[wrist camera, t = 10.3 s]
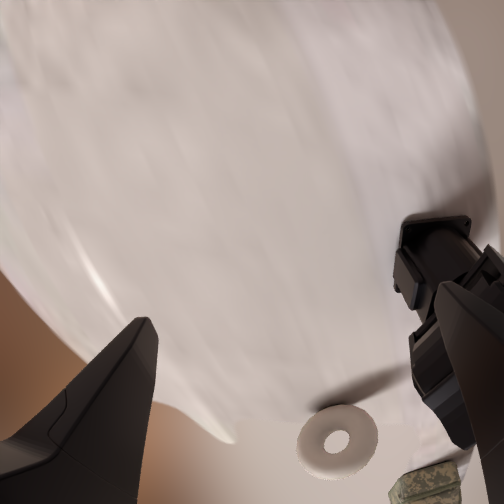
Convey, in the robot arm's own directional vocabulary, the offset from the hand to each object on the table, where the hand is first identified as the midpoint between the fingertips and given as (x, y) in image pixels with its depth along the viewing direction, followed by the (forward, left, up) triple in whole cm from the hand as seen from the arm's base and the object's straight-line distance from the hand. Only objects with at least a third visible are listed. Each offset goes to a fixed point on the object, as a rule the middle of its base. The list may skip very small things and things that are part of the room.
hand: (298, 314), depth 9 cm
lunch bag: (-33, +87, -13) cm, 94 cm away
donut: (-4, +30, -13) cm, 33 cm away
